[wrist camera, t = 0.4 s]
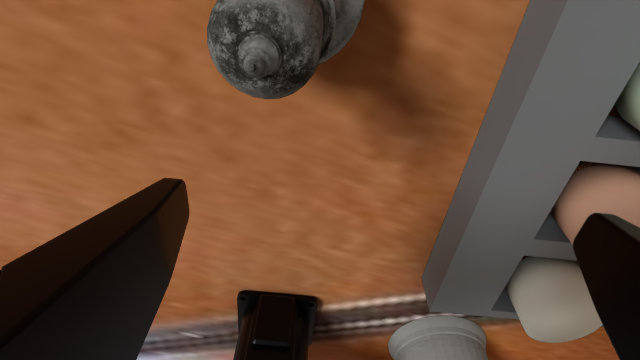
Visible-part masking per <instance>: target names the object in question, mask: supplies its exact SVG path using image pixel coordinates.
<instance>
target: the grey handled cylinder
mask: <svg viewBox="0 0 640 360" xmlns="http://www.w3.org/2000/svg"><path fill="white" fill-rule="evenodd" d="M388 349H389V352H390V355H391V356H392V358H393V359H394V360H488V357H487V354H486V335H485V333H484V331H483V329H482V328H481V327H480V326H479V325H477V324H476V323H474V322H472V321H470V320H467V319H464V318H461V317H455V316H431V317H425V318H421V319H417V320H415V321H412V322H409V323H407V324H405V325H403V326H402V327H401V328H399V329H398V330H397V331H396V332H395V333H394V334H393V335H392V336H391V338H390V340H389V343H388Z"/></svg>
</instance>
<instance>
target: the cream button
mask: <svg viewBox="0 0 640 360" xmlns="http://www.w3.org/2000/svg"><path fill="white" fill-rule="evenodd" d="M505 288H506V291H507V293H508V295H509V297H510V299H511V302H512V304H513V306H514V308H515V310H516V313H517V315H518V317H519V319H520V321H521V324H522V326H523V328H524V330H525V332H526V334H527V335H528V336H529V337H531V338H533V339H535V340H538V341H542V342H549V343H558V342H566V341H571V340H575V339H579V338H581V337H584V336H586V335H588V334H590V333H592V332H594V331H595V330H597V329H598V328H599V327H601V326H602V325H603V324H602V322H601V320H600V318H599V316H598V314H597V311H596V309H595V307H594V304H593V302H592V299H591V296H590V294H589V291H588V288H587V286H586V283H585V280H584V278H583V275H582V272H581V269H580V267H579V264H578V263H577V262H576V261H575V260H565V259H555V258H544V257H534V256H529V257H527V258H525V259H523V260H521V261H520V263H519V264H518V266H517V268H516V269H515V271H514V273H513V274H512V276H511V278H510V279H509V281H508V283H507V284H506V286H505Z"/></svg>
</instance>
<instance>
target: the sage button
mask: <svg viewBox="0 0 640 360" xmlns="http://www.w3.org/2000/svg"><path fill="white" fill-rule="evenodd" d="M615 106H616V109H617V111H618V113H619V115H620V116H621V117H622V118H623V119H624V120H625V121H627V122H628V123H629V124H631V125H632V126H634V127H635V128H636V129H638V130H639V131H640V62H639V64H638V66H637V67H636V69H635V71H634V72H633V74H632V76H631V77H630V79H629V81H628V82H627V84H626V86H625V87H624V89H623V91H622V92H621V94H620V96H619V97H618V99H617V101H616V102H615Z"/></svg>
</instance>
